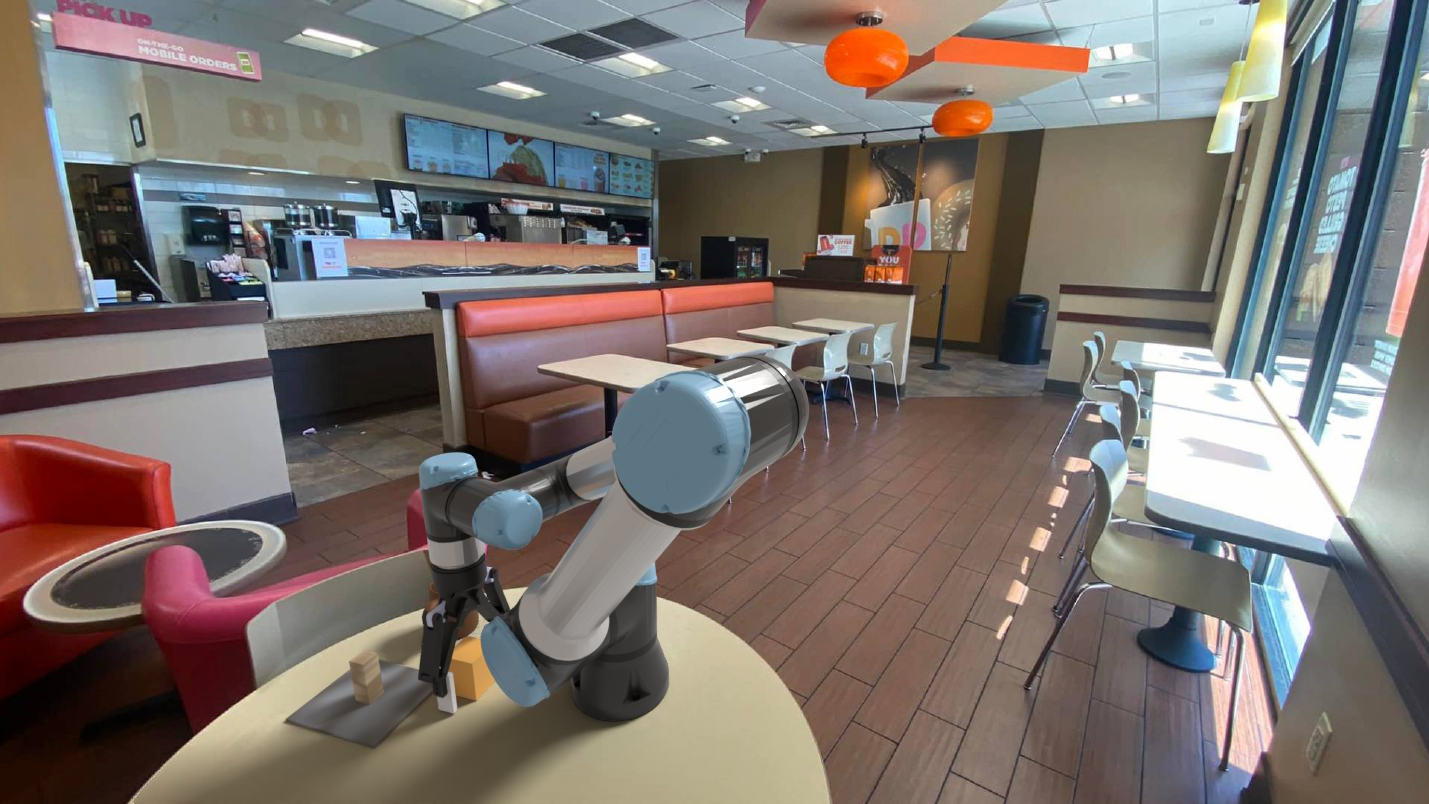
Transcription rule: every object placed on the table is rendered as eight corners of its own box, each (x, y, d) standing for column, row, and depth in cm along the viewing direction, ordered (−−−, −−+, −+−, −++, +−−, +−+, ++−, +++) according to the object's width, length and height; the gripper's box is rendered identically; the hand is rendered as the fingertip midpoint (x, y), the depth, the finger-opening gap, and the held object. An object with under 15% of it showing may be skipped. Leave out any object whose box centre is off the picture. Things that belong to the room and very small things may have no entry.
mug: (450, 660, 98) (444, 611, 95) (408, 656, 99) (401, 607, 96) (487, 617, 109) (482, 572, 107) (449, 613, 110) (443, 568, 108)
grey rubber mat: (446, 678, 94) (441, 638, 92) (374, 748, 81) (366, 703, 79) (367, 658, 98) (360, 619, 96) (286, 721, 85) (276, 677, 83)
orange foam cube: (498, 677, 94) (494, 642, 92) (476, 700, 89) (472, 663, 87) (470, 670, 95) (466, 635, 94) (447, 693, 90) (443, 656, 89)
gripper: (486, 520, 98) (498, 634, 104) (373, 595, 77) (396, 734, 83) (525, 526, 96) (535, 642, 102) (420, 605, 75) (440, 747, 80)
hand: (473, 683), depth 92 cm, fingers open, 10 cm apart
